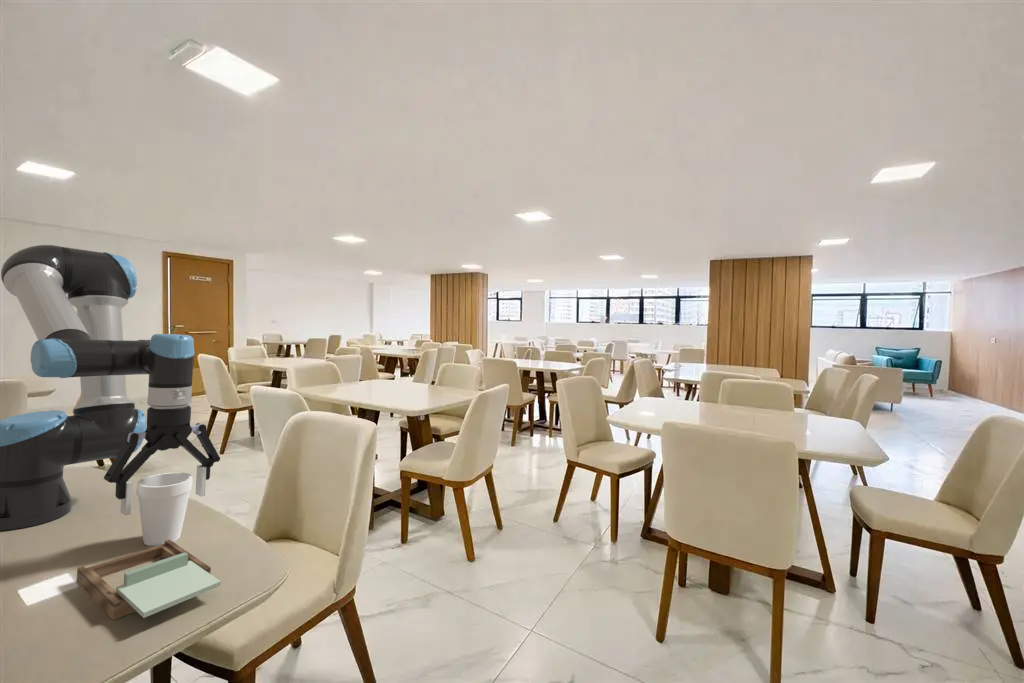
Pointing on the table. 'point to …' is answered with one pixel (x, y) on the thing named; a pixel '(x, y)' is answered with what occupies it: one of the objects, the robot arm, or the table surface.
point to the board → (105, 593)
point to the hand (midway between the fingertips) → (165, 503)
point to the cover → (165, 584)
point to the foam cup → (163, 506)
